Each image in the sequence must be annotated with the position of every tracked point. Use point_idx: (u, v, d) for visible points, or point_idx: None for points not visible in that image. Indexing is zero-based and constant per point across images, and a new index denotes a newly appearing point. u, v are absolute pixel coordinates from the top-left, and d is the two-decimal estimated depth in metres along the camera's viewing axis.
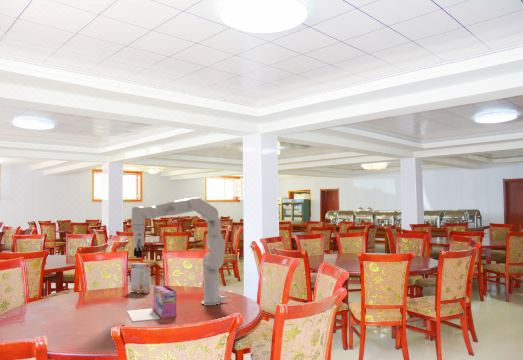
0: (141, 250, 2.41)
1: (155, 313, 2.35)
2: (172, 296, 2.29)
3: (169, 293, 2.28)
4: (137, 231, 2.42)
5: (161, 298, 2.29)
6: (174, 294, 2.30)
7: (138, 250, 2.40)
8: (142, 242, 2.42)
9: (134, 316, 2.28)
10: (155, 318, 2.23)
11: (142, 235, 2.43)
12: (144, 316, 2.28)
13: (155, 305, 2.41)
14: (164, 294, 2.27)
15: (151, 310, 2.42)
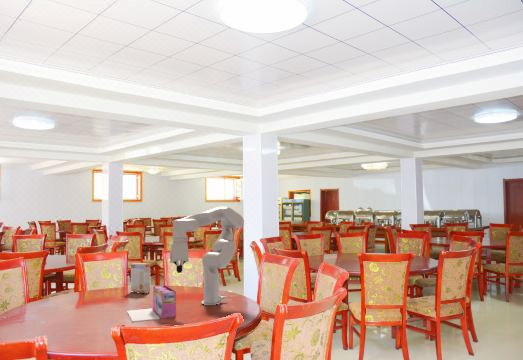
0: None
1: (155, 313, 2.35)
2: (171, 297, 2.29)
3: (169, 293, 2.28)
4: None
5: (161, 298, 2.29)
6: (174, 294, 2.29)
7: (182, 265, 2.43)
8: None
9: (134, 316, 2.28)
10: (155, 318, 2.23)
11: None
12: (144, 316, 2.28)
13: (155, 305, 2.40)
14: (164, 294, 2.27)
15: (151, 310, 2.42)
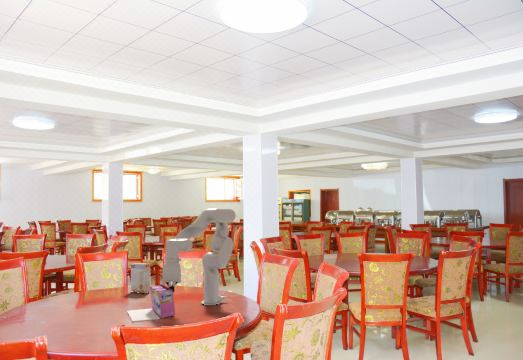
0: None
1: (155, 313, 2.35)
2: (168, 296, 2.28)
3: (165, 293, 2.27)
4: (179, 264, 2.42)
5: (158, 298, 2.28)
6: (170, 293, 2.29)
7: (174, 286, 2.40)
8: None
9: (134, 316, 2.28)
10: (155, 318, 2.23)
11: None
12: (144, 316, 2.28)
13: (153, 305, 2.40)
14: (160, 294, 2.26)
15: (151, 310, 2.42)
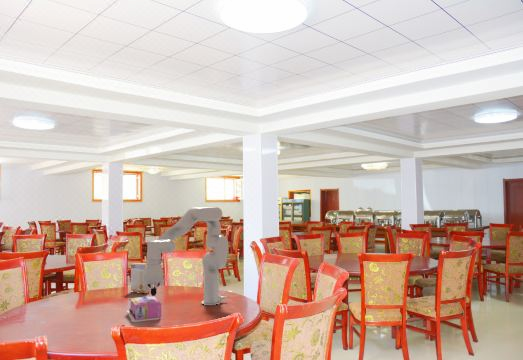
0: None
1: None
2: (140, 309, 2.21)
3: (136, 313, 2.20)
4: None
5: None
6: (138, 307, 2.21)
7: (156, 287, 2.36)
8: None
9: None
10: (155, 318, 2.23)
11: None
12: None
13: None
14: (137, 318, 2.20)
15: None
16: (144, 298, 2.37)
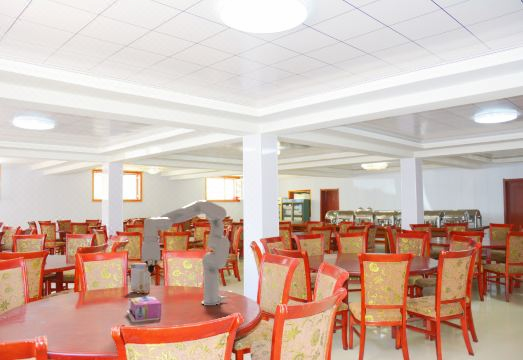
0: None
1: None
2: (140, 309, 2.21)
3: (136, 313, 2.20)
4: None
5: None
6: (138, 307, 2.21)
7: (154, 264, 2.38)
8: None
9: None
10: (155, 318, 2.23)
11: None
12: None
13: None
14: (137, 318, 2.20)
15: None
16: (144, 298, 2.37)
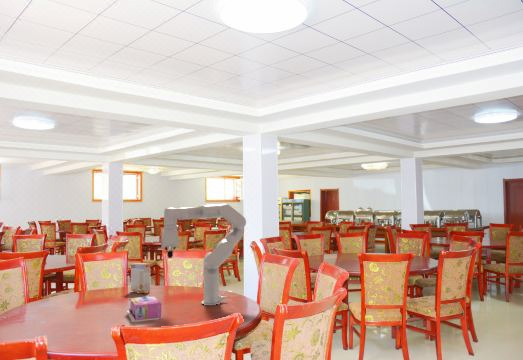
0: None
1: None
2: (140, 309, 2.21)
3: (136, 313, 2.20)
4: (177, 231, 2.60)
5: None
6: (138, 307, 2.21)
7: (172, 250, 2.59)
8: None
9: None
10: (155, 318, 2.23)
11: None
12: None
13: None
14: (137, 318, 2.20)
15: None
16: (144, 298, 2.37)
